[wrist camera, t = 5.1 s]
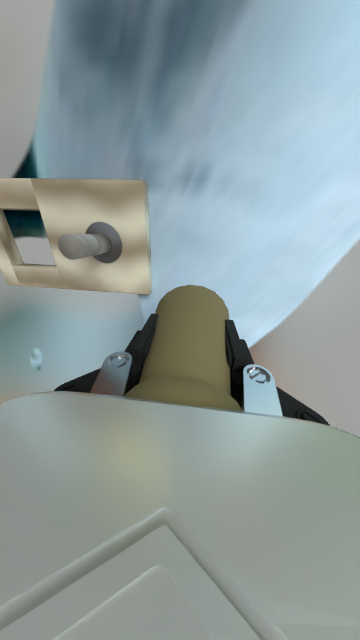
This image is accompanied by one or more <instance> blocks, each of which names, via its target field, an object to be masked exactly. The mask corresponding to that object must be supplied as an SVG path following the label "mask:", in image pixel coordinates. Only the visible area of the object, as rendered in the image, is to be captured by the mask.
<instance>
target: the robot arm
mask: <svg viewBox="0 0 360 640" xmlns="http://www.w3.org/2000/svg"><path fill="white" fill-rule="evenodd" d="M158 315H159V314H151V315H150V317H149V319H148V320H147V322H146V324H145V325H144V327H143V329H142V331H137V332H136V334H135V335H134V337H133V339H132V340H131V342H130V343H129V345H128V347H127V348H126V350H125V351H124V352H116V353H113V354H111V355H109V356H108V357H107V358H106V359H105V361H104V363H103V365H102V367H101V368H100V369H97V370H95V371H93V372H90V373H88V374H86V375H83V376H81V377H78V378H76V379H74V380H71V381H69V382H67V383H64V384H62V385H61V386H59V387H57V388H56V389H55V390H54V391H50V392H40V393H34V394H28V395H23V396H20V397H16V398H13V399H10V400H8V401H5V402H3V403H1V404H0V640H360V437H358V436H356V435H354V434H351V433H349V432H347V431H344V430H341V429H338V428H335V427H332V426H330V425H329V424H328V422H326V420H325V419H324V418H323V417H322V416H320V415H319V414H318V413H316V412H315V411H313V410H312V409H310V408H309V407H307V406H306V405H304V404H303V403H301V402H299V401H298V400H296V399H295V398H293V397H292V396H290V395H289V394H287V393H286V392H284V391H283V390H281V389H279V388H278V387H276V385H275V380H274V377H273V375H272V374H271V372H270V371H268V370H267V369H266V368H264V367H262V366H259V365H255V364H254V362H253V359H252V357H251V354H250V352H249V349H248V347H247V344H246V342H245V340H243V339H239V336H238V333H237V330H236V327H235V325H234V322H233V320H225V343H226V351H227V360H228V366H229V368H230V377H231V397H232V398H233V399H235V400H236V401H237V403H238V404H239V406H240V407H241V409H242V411H238V410H230V409H222V408H214V407H202V406H192V405H183V404H174V403H167V402H161V401H154V400H147V399H139V398H130V397H124V395H125V394H126V393H128V392H129V391H130V390H131V389H132V388H133V387H135V386H136V385H138V383H139V379H140V375H141V371H142V368H143V364H144V361H145V359H146V357H147V354H148V351H149V348H150V345H151V342H152V339H153V336H154V333H155V329H156V322H157V318H158Z"/></svg>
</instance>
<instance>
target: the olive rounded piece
mask: <svg viewBox="0 0 360 640" xmlns="http://www.w3.org/2000/svg"><path fill="white" fill-rule="evenodd" d="M155 314H159V315H158V318H157V322H156V329H155V333H154V336H153V339H152V342H151V345H150V348H149V351H148V354H147V357H146V359H145V361H144V364H143V368H142V371H141V375H140V379H139V383H138V385H136V386H135V387H133V388H132V389H131V390H130V391H129V392H128V393H126V394H125V395H124V397H130V398H139V399H147V400H154V401H161V402H167V403H174V404H183V405H192V406H202V407H214V408H222V409H230V410H238V411H242V409H241V407H240V406H239V404H238V403H237V401H236V400H235V399H233V398H232V397H231V377H230V368H229V366H228V360H227V351H226V343H225V320H229V314H228V309H227V307H226V305H225V303H224V301H223V300H222V299H221V298H220V297H219V296H218V295H217V294H216V293H215V292H214V291H212V290H209V289H207V288H205V287H203V286H195V285H187V286H181V287H177V288H175V289H173V290H172V291H170V292H168V293H167V294H166V295H165V296H164V297H163V298H162V299H161V300H160V302H159V304H158V307H157V309H156V312H155Z"/></svg>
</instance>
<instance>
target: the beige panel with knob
mask: <svg viewBox="0 0 360 640" xmlns="http://www.w3.org/2000/svg"><path fill="white" fill-rule="evenodd" d="M3 210H35V211H40V213H41V216H42V219H43V223H44V226H45V229H46V233H47V236H48V240H49V243H50V246H51V250H52V253H53V256H54V260H55V263H56V265H39V264H24V263H23V261H22V259H21V256H20V253H19V250H18V248H17V245H16V243H15V240H14V237H13V235H12V232H11V230H10V227H9V224H8V222H7V219H6V217H5V214H4V211H3ZM0 268H1V271H2V273H3V275H4V277H5V279H6V281H7V284H8V285H17V286H32V287H47V288H61V289H75V290H76V289H77V290H91V291H104V292H119V293H134V294H148V295H149V294H150V293H151V292H152V274H151V252H150V230H149V207H148V185H147V183H146V182H144V181H143V180H111V179H36V178H0Z"/></svg>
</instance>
